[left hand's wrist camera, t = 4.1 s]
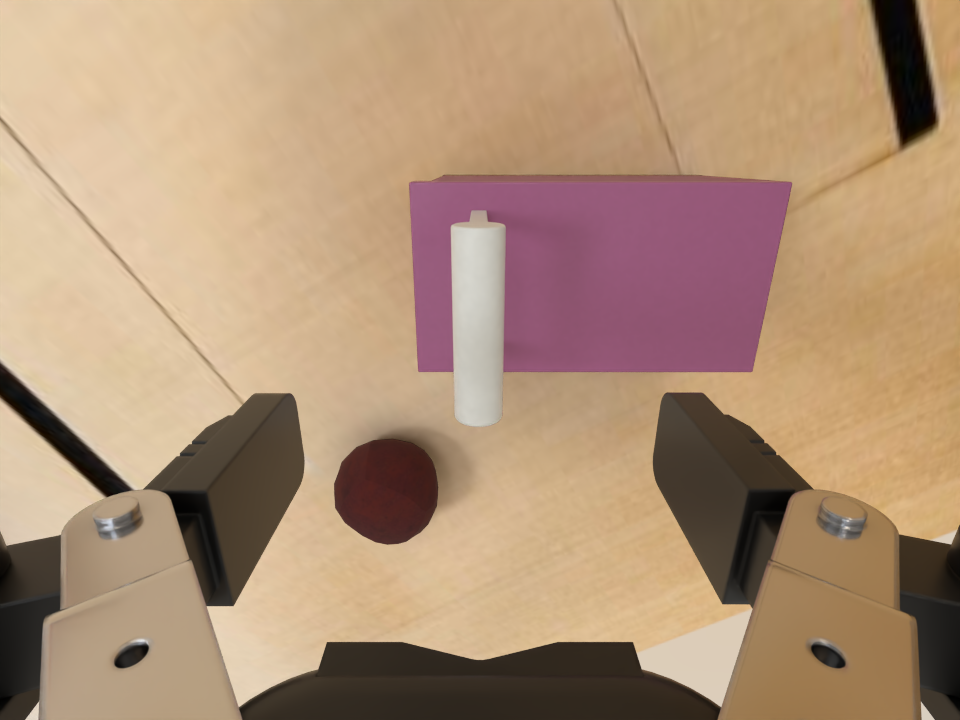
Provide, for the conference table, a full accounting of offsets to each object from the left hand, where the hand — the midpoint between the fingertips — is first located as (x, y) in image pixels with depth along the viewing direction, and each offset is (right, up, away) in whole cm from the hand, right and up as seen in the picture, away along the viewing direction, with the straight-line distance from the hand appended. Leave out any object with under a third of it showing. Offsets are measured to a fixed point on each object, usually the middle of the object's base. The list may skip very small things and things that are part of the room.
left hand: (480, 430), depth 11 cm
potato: (-7, -7, +30) cm, 31 cm away
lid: (+5, +6, +14) cm, 16 cm away
